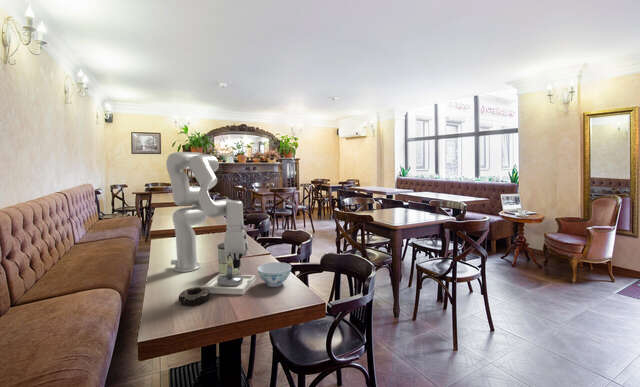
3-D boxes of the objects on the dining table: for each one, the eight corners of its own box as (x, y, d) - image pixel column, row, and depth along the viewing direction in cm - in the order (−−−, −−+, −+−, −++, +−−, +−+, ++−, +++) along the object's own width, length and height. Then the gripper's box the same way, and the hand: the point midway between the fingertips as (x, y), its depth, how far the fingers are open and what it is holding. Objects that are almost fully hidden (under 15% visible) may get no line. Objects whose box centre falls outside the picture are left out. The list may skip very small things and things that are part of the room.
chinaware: (254, 280, 151) (254, 264, 151) (285, 276, 157) (285, 260, 157) (262, 292, 138) (261, 275, 137) (296, 287, 144) (295, 270, 143)
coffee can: (226, 267, 170) (225, 241, 169) (243, 269, 167) (242, 242, 165) (214, 274, 161) (213, 246, 159) (232, 276, 157) (231, 248, 156)
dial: (241, 286, 140) (241, 270, 139) (215, 288, 139) (214, 272, 138) (244, 276, 152) (243, 262, 151) (219, 277, 150) (219, 263, 150)
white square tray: (202, 292, 138) (202, 286, 138) (218, 279, 154) (218, 273, 154) (243, 294, 136) (243, 287, 136) (255, 280, 152) (255, 274, 151)
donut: (187, 294, 137) (187, 285, 137) (214, 295, 136) (214, 286, 136) (172, 306, 126) (172, 296, 125) (201, 308, 124) (201, 297, 124)
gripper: (254, 227, 149) (255, 266, 151) (225, 225, 153) (226, 264, 155) (246, 230, 142) (247, 271, 144) (215, 229, 146) (217, 269, 148)
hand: (236, 267), depth 149 cm, fingers closed
